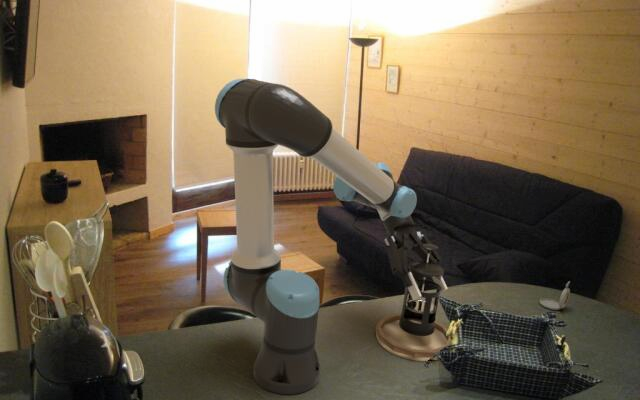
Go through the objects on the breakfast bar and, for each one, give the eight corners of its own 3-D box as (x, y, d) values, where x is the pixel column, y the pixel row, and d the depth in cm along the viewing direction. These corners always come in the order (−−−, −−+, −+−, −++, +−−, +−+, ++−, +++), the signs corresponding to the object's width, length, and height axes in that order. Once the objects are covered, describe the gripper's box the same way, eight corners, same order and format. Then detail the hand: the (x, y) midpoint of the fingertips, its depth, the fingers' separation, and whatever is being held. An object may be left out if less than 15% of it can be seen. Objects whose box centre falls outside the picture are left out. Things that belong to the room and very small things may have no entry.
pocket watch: (536, 299, 171) (543, 271, 169) (563, 303, 170) (570, 275, 168) (543, 311, 164) (550, 282, 161) (571, 315, 163) (578, 285, 160)
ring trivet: (413, 369, 126) (415, 360, 126) (360, 331, 142) (361, 323, 141) (467, 348, 138) (469, 340, 137) (413, 315, 153) (414, 307, 153)
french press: (441, 337, 135) (456, 254, 128) (406, 337, 133) (420, 253, 127) (424, 315, 146) (437, 237, 139) (392, 315, 144) (404, 236, 138)
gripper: (415, 218, 151) (449, 291, 143) (357, 227, 138) (391, 308, 130) (431, 205, 145) (468, 281, 137) (372, 214, 133) (409, 297, 125)
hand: (430, 294), depth 134 cm, fingers closed on french press, 9 cm apart
